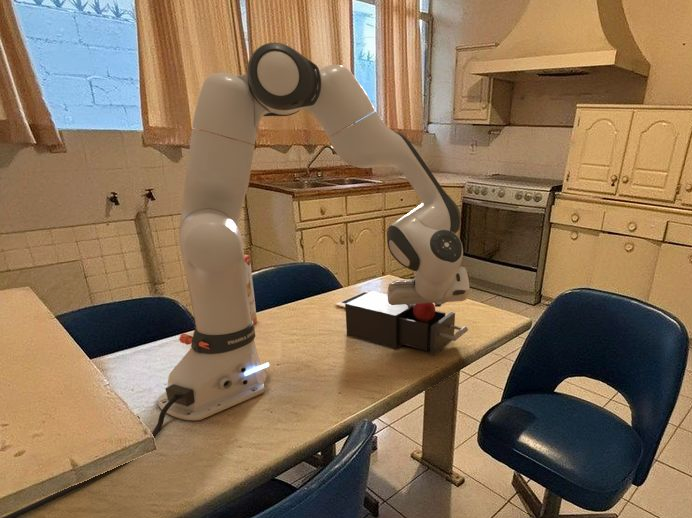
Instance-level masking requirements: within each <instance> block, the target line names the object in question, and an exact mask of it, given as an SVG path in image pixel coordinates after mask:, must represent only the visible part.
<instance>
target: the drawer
mask: <svg viewBox="0 0 692 518" xmlns="http://www.w3.org/2000/svg"><path fill="white" fill-rule="evenodd" d="M413 309H414V308H413ZM413 309H411V310H409V311H408V312H406V313H404V314H403V315H401V316H399V317H398V318H397V323H398V343H400V344H403V345H404V346H407V347H411V348H414V349H418V350H422V351H426V352H427V351H429V350H430V351H429V354H430V355H433V356H435V355H436V354H438V353H439V352H440V351H441V350H443V349H444V348H445V347H447V345H449V344H450V343H451V342H452V341H453V342H456V341H457V340H458V339H460V338H461V337H462V336H463V335H464V334H466V333H467V332H468V330H469V329H468V327H467V326H463V327H462V326H457V325H456V324H455V323H456V312H452V311H451V312H449V313H448V314H447V313H446V312H445V311H440V310H436V309H435V315H434V317H433V318H432V319H431V320H430V321H428V322H427V323H423V322H420V321H419V320H417V319H416V318H415V316H414V314H413ZM455 330H458V331H456V332H455ZM403 345H402V346H403Z"/></svg>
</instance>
